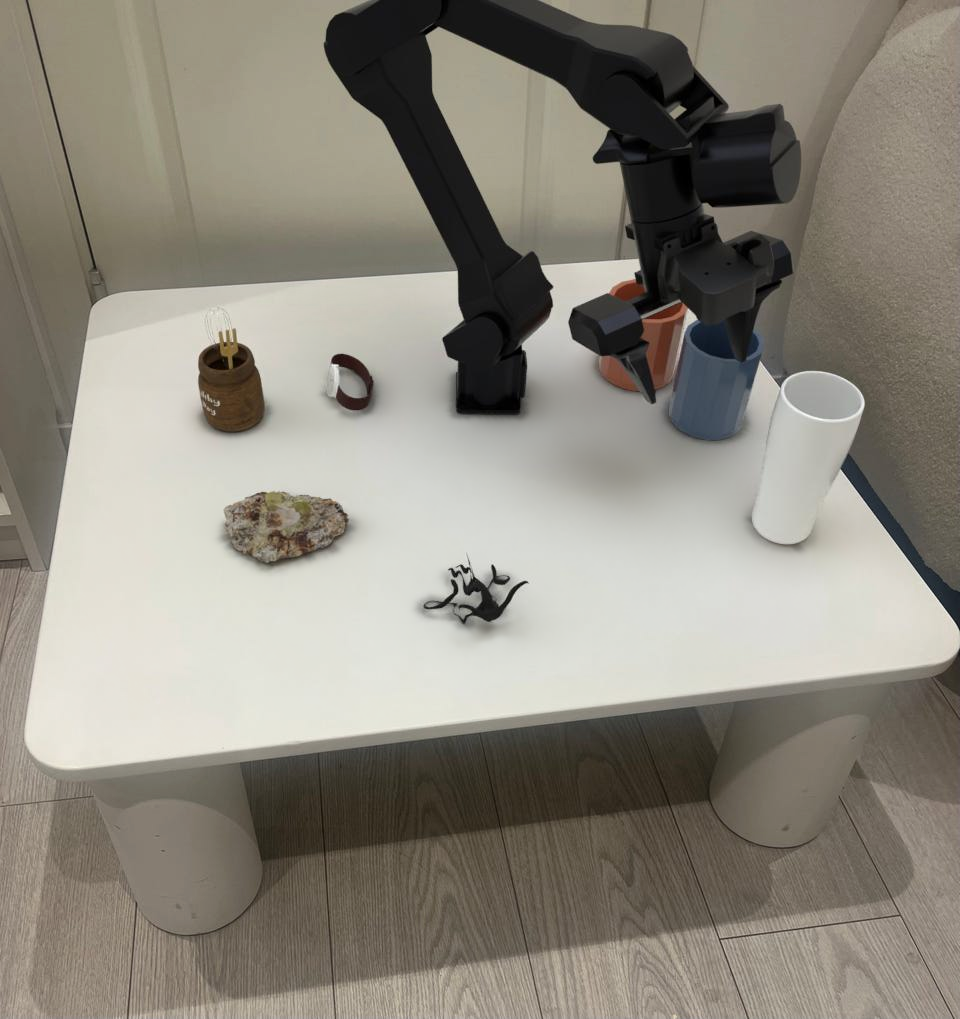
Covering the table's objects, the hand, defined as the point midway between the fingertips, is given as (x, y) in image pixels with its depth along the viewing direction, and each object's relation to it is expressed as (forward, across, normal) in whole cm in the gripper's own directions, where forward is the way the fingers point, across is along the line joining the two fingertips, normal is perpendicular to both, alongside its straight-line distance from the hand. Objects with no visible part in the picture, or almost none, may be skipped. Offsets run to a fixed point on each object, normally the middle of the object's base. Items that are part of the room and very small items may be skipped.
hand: (696, 381), depth 88 cm
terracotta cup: (+6, +3, +19) cm, 20 cm away
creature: (+8, -26, -4) cm, 28 cm away
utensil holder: (-4, -37, +25) cm, 45 cm away
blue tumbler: (+10, +5, +10) cm, 15 cm away
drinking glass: (+14, +2, -6) cm, 16 cm away
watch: (-1, -25, +25) cm, 35 cm away
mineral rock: (+2, -37, +8) cm, 38 cm away
